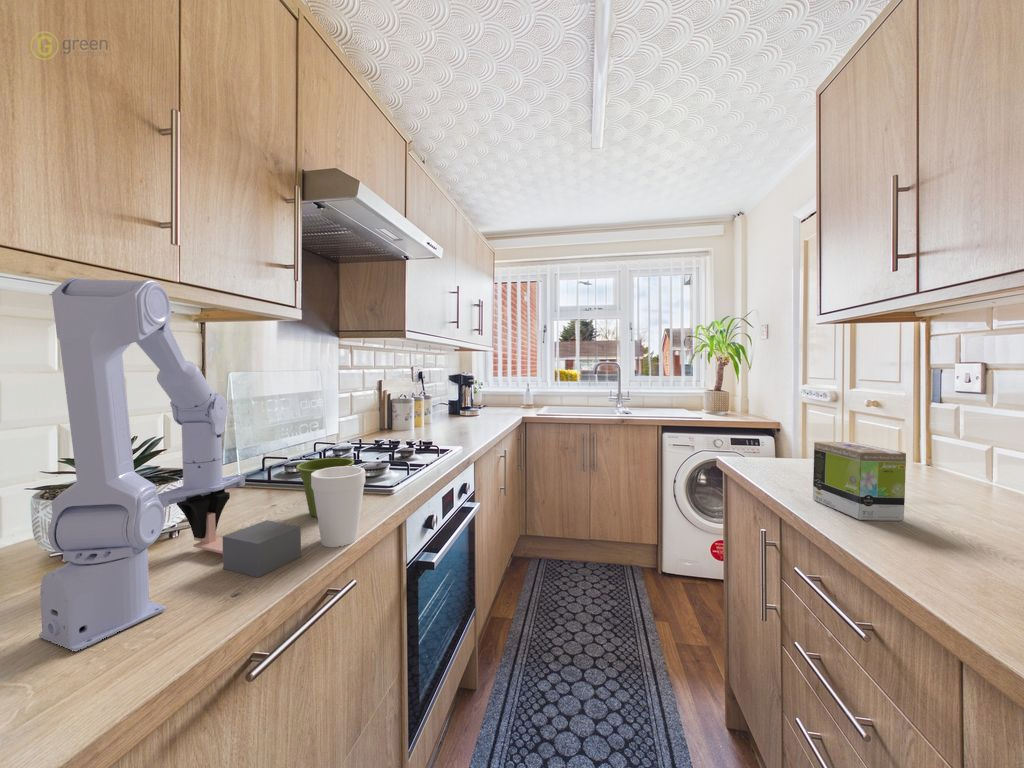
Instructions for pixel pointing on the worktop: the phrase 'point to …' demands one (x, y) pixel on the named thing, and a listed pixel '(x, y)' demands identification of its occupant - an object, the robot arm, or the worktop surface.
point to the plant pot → (311, 467)
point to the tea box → (860, 480)
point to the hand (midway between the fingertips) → (204, 535)
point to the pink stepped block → (210, 536)
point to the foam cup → (338, 503)
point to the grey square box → (261, 548)
